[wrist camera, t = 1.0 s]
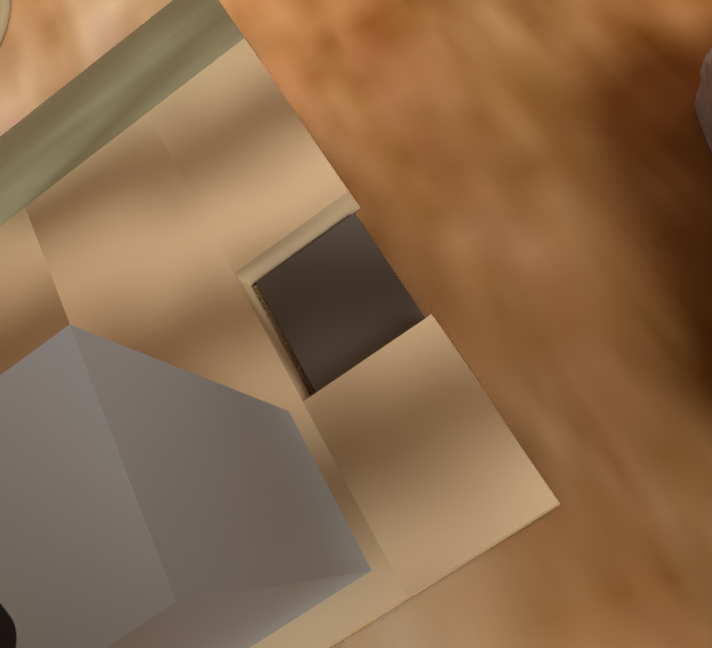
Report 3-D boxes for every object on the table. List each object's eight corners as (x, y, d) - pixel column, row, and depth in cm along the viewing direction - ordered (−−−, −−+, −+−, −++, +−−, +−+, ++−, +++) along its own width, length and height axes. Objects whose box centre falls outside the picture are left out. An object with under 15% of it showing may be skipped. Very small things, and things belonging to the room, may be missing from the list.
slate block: (371, 570, 18) (176, 603, 9) (219, 666, 18) (-89, 775, 10) (288, 411, 20) (69, 324, 11) (154, 502, 20) (-144, 480, 12)
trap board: (560, 504, 18) (553, 498, 15) (116, 780, 19) (32, 823, 16) (246, 39, 26) (201, -23, 23) (-44, 262, 28) (-119, 230, 25)
